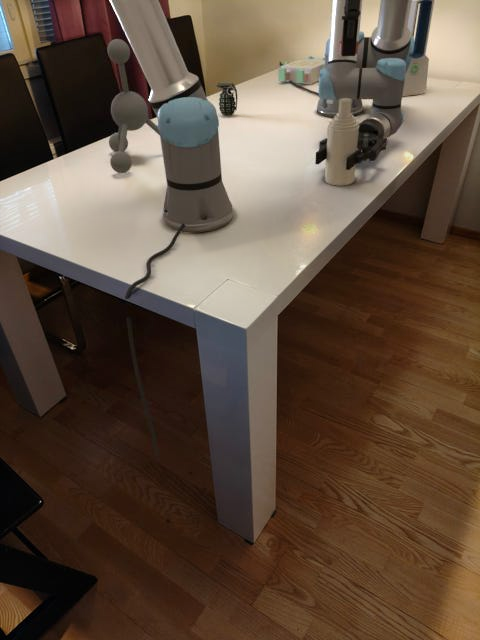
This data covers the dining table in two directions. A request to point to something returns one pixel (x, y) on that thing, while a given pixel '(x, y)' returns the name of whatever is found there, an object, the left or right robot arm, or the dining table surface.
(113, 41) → the molecular model
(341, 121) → the bottle
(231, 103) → the grenade
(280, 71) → the decorative block
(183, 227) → the left robot arm
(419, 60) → the electronic device
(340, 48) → the cap
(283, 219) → the dining table surface
